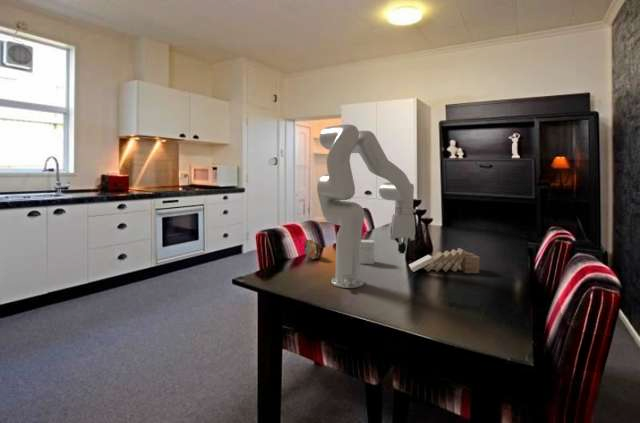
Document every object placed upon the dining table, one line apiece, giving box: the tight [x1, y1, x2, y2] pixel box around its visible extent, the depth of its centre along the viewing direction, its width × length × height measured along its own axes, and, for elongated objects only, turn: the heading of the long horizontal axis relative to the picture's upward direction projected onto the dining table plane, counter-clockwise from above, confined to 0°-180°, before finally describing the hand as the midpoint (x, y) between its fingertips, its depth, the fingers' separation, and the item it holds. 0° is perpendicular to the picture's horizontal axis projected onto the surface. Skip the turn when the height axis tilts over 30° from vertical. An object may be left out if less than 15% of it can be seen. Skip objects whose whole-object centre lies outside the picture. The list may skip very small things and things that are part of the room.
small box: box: [360, 239, 375, 265], centre depth 172 cm, size 8×6×10 cm
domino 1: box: [408, 254, 434, 273], centre depth 160 cm, size 2×5×10 cm
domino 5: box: [449, 247, 468, 273], centre depth 161 cm, size 2×5×10 cm, turn 2°
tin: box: [303, 239, 322, 260], centre depth 181 cm, size 15×3×8 cm, turn 25°
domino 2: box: [422, 251, 446, 273], centre depth 161 cm, size 2×5×10 cm
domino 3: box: [432, 250, 453, 272], centre depth 161 cm, size 2×5×10 cm
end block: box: [458, 252, 481, 274], centre depth 161 cm, size 8×6×7 cm
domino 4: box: [441, 248, 461, 273], centre depth 161 cm, size 2×5×10 cm
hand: (401, 252), depth 159 cm, fingers closed
